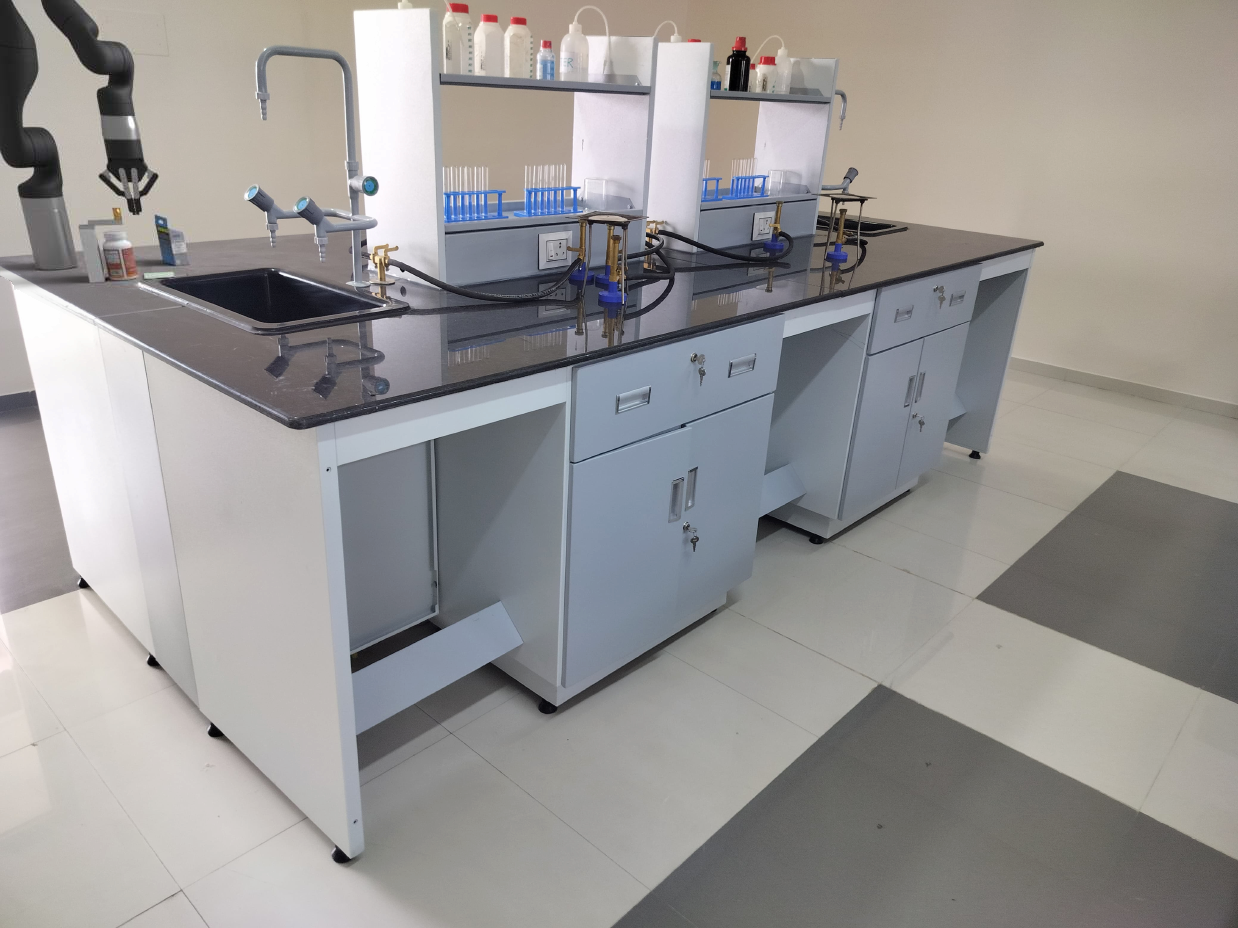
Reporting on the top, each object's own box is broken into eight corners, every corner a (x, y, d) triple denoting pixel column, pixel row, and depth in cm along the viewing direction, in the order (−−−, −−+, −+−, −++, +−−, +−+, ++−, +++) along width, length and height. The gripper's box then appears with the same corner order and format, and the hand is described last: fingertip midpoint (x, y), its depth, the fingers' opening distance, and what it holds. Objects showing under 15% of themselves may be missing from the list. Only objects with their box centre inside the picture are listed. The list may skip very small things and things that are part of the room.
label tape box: (190, 264, 227) (182, 216, 222) (174, 266, 224) (165, 218, 219) (176, 260, 233) (168, 213, 228) (161, 261, 230) (152, 214, 225)
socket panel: (91, 275, 210) (80, 222, 205) (105, 275, 212) (94, 221, 207) (89, 282, 203) (78, 227, 198) (105, 281, 204) (93, 226, 199)
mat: (144, 275, 213) (144, 273, 213) (173, 273, 216) (173, 271, 216) (144, 280, 208) (144, 278, 208) (174, 278, 211) (174, 276, 210)
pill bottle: (134, 275, 213) (126, 229, 208) (140, 279, 208) (132, 232, 204) (106, 277, 209) (97, 231, 205) (112, 282, 205) (102, 234, 200)
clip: (88, 225, 202) (85, 208, 200) (123, 224, 205) (120, 207, 203) (88, 226, 200) (85, 209, 199) (123, 225, 203) (119, 208, 202)
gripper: (153, 136, 204) (166, 212, 211) (89, 136, 198) (104, 213, 205) (154, 138, 198) (167, 216, 205) (88, 137, 192) (103, 217, 199)
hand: (136, 214), depth 205 cm, fingers closed
